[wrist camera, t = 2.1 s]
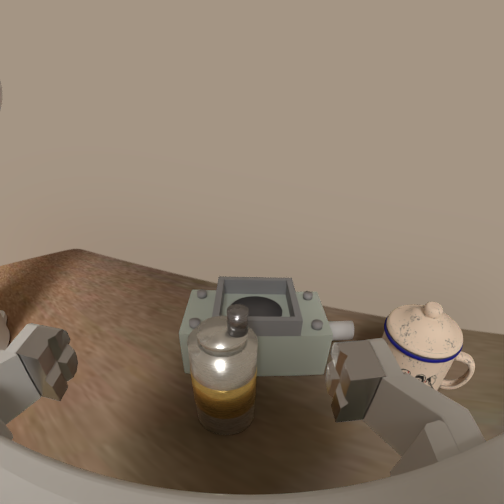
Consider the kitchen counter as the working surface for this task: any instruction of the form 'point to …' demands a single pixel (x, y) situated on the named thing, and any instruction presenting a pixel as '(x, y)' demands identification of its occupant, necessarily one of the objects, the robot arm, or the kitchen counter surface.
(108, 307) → the kitchen counter surface
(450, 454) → the robot arm
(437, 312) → the teacup with lid
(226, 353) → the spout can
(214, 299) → the block
